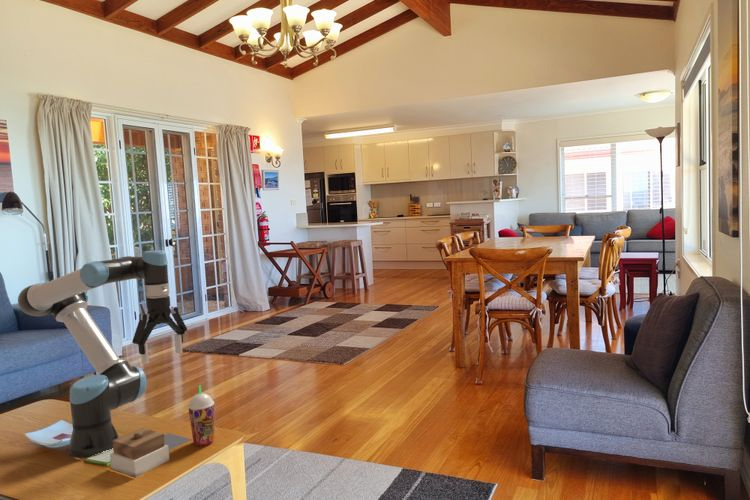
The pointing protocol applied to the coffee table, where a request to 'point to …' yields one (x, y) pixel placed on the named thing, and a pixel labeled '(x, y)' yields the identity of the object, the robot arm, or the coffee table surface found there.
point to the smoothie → (202, 418)
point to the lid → (138, 443)
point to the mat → (174, 440)
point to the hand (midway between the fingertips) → (162, 358)
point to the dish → (139, 462)
